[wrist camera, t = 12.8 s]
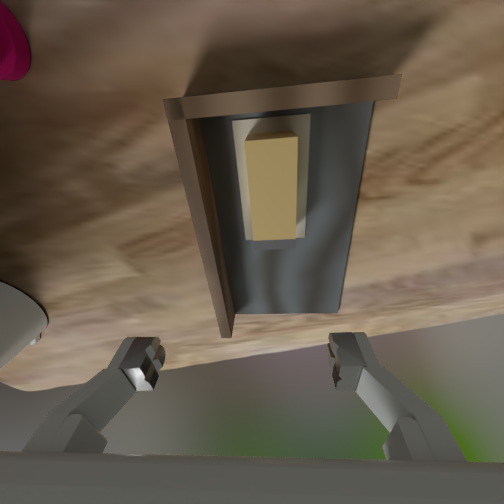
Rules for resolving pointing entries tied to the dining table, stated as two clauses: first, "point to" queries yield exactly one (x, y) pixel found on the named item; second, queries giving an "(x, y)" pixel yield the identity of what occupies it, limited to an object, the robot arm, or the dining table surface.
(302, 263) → the gray brown tray
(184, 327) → the dining table surface
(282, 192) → the ochre bar
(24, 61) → the pepper mill
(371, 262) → the dining table surface
